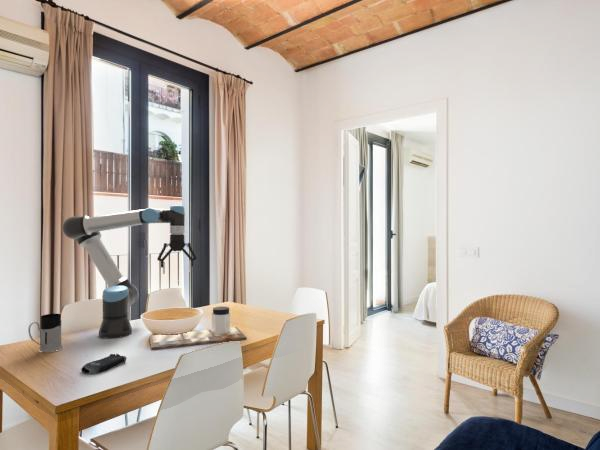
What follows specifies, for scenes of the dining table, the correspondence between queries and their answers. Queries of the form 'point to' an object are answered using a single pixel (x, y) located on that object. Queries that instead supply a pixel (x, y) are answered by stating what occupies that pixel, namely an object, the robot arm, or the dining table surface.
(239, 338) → the board
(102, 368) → the electronic device
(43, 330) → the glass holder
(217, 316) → the jar
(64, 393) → the dining table surface
